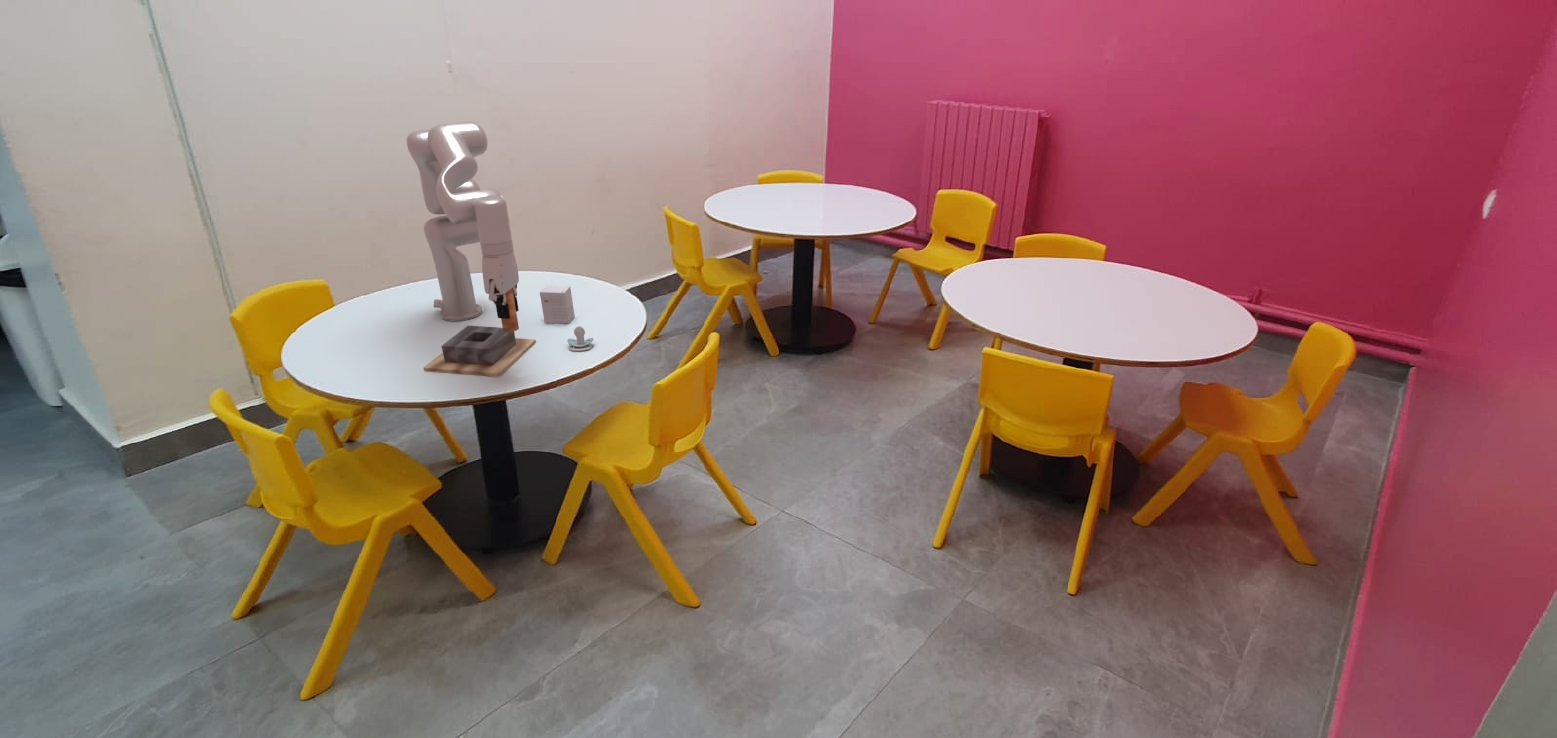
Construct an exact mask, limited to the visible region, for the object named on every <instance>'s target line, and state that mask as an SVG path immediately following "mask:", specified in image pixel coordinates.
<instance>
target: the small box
mask: <svg viewBox="0 0 1557 738" xmlns="http://www.w3.org/2000/svg"><path fill="white" fill-rule="evenodd" d="M539 296H540V301H541V310H542V313H543V319H544V320H543V321H544V323H545V324H562V325H563V324H565V325H566V324H567V325H568V324H570V323H571V322H572V321H573V320H574V319H575V316H576V315H575V308H574V303H573V295H572V290H571V286H568V285H567V286H566V285H565V286H564V285H563V286H559V285H554V286H553V285H546V286H545V287H544V288H542V290H540V291H539Z"/></svg>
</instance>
